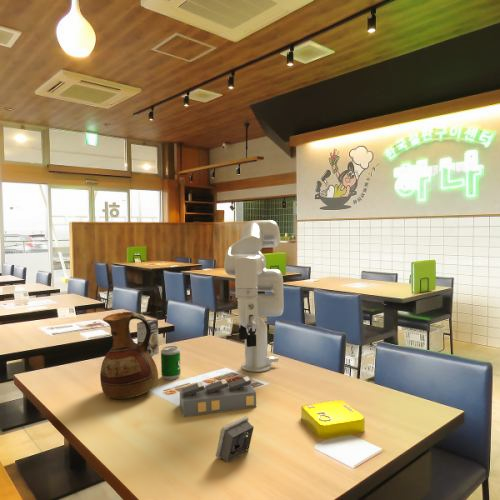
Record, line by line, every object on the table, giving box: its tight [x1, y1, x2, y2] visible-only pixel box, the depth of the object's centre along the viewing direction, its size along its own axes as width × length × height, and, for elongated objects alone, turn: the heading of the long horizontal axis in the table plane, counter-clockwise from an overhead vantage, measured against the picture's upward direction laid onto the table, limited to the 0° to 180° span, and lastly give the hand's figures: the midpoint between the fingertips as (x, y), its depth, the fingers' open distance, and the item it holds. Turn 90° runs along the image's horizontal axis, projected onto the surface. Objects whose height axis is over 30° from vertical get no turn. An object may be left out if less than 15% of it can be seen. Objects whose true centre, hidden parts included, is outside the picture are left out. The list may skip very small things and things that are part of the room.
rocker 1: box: [181, 381, 205, 396], centre depth 140 cm, size 7×4×1 cm, turn 106°
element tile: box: [300, 399, 366, 440], centre depth 128 cm, size 15×15×5 cm
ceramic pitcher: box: [99, 311, 159, 400], centre depth 154 cm, size 20×20×30 cm
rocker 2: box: [204, 378, 229, 393], centre depth 142 cm, size 7×4×1 cm, turn 106°
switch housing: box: [179, 384, 257, 418], centre depth 142 cm, size 24×10×6 cm, turn 107°
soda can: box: [160, 345, 181, 381], centre depth 170 cm, size 8×8×12 cm
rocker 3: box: [227, 375, 252, 390], centre depth 144 cm, size 7×4×1 cm, turn 106°
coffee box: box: [136, 319, 160, 357], centre depth 202 cm, size 9×6×16 cm
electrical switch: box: [215, 416, 255, 464], centre depth 111 cm, size 9×5×9 cm, turn 136°
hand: (247, 342), depth 145 cm, fingers open, 9 cm apart
